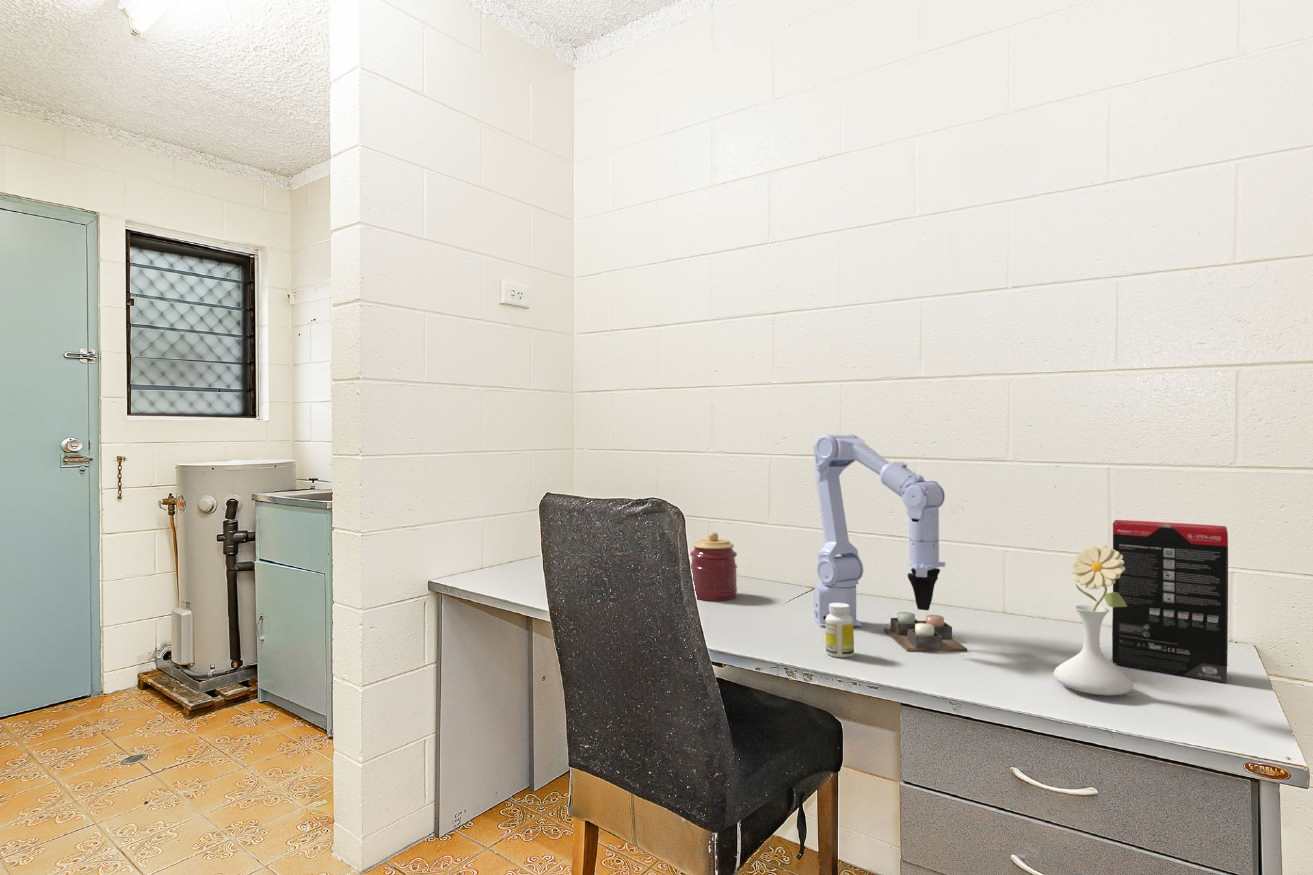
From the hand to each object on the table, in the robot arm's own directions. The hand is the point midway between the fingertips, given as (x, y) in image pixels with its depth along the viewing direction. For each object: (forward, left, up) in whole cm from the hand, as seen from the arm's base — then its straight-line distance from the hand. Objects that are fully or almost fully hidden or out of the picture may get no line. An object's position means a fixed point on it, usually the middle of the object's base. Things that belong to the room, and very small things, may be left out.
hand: (924, 606), depth 140 cm
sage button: (0, +10, -7) cm, 12 cm away
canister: (-40, +47, -9) cm, 63 cm away
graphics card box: (+40, -14, -9) cm, 43 cm away
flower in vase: (+20, -25, -9) cm, 33 cm away
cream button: (0, 0, -7) cm, 7 cm away
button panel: (+2, +5, -8) cm, 10 cm away
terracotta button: (+5, +7, -6) cm, 11 cm away
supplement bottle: (-18, -5, -9) cm, 21 cm away
